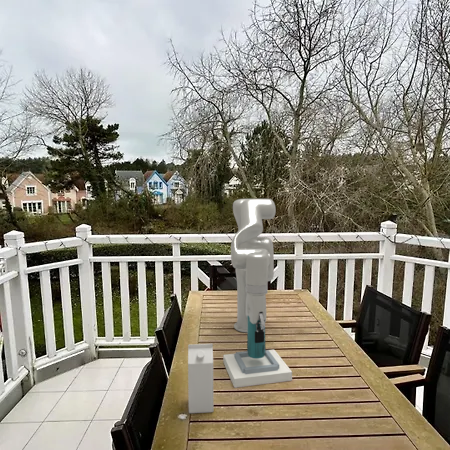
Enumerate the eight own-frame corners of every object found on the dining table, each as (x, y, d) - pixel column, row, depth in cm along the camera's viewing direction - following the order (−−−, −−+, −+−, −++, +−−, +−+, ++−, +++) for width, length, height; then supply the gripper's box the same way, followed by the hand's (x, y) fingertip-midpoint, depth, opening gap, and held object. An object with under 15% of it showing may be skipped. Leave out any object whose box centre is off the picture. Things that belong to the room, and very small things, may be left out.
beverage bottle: (264, 363, 119) (265, 307, 117) (245, 362, 120) (245, 306, 118) (266, 355, 125) (266, 301, 123) (247, 353, 127) (248, 300, 124)
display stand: (223, 362, 129) (223, 350, 129) (274, 357, 133) (274, 345, 133) (234, 387, 112) (234, 374, 112) (292, 380, 117) (292, 367, 116)
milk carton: (189, 399, 106) (188, 339, 105) (212, 398, 107) (212, 338, 105) (188, 414, 99) (187, 350, 97) (213, 412, 100) (213, 349, 98)
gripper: (239, 282, 128) (239, 329, 130) (253, 296, 111) (253, 350, 113) (259, 281, 129) (258, 327, 131) (275, 295, 112) (275, 348, 114)
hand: (256, 337), depth 122 cm, fingers closed on beverage bottle, 6 cm apart
